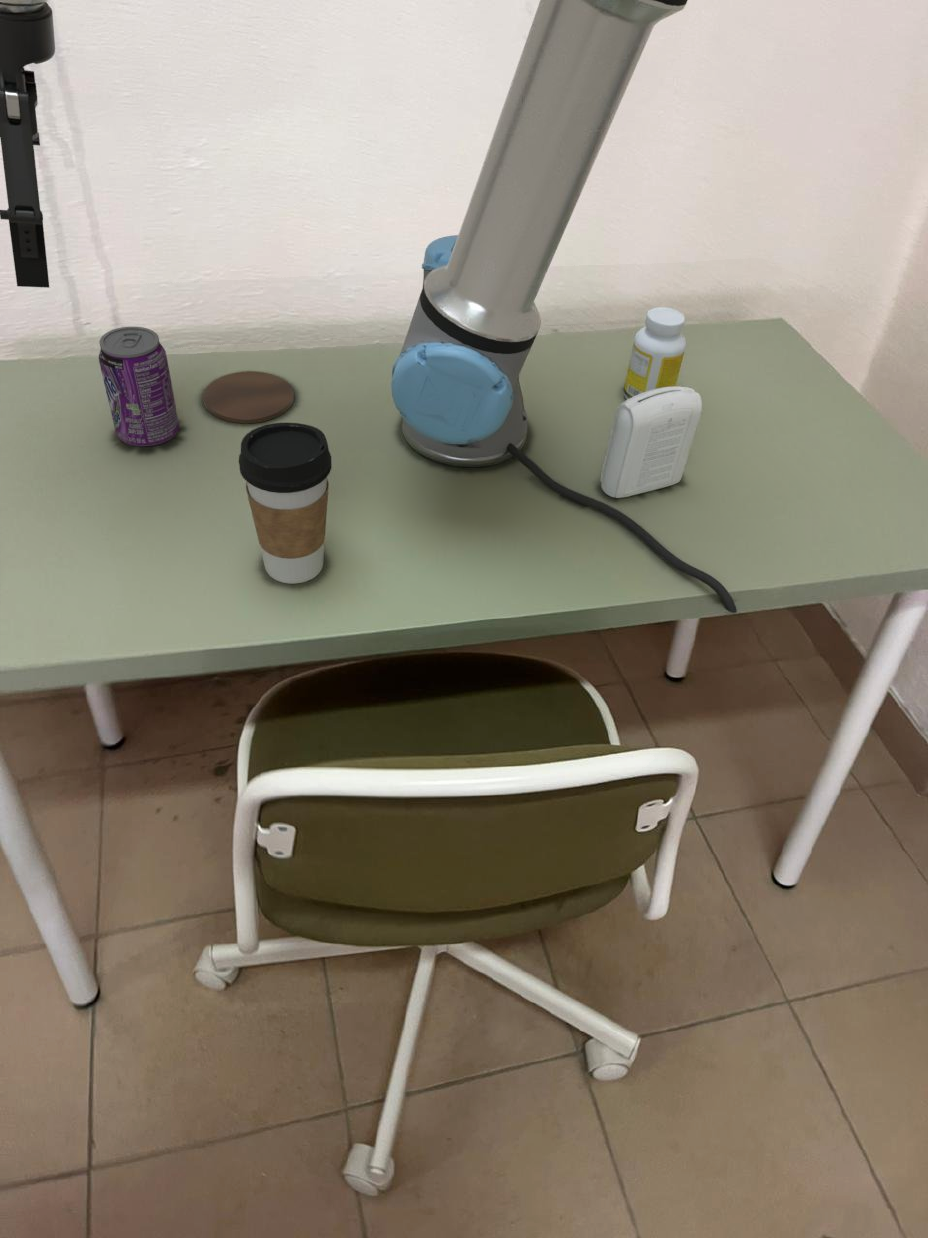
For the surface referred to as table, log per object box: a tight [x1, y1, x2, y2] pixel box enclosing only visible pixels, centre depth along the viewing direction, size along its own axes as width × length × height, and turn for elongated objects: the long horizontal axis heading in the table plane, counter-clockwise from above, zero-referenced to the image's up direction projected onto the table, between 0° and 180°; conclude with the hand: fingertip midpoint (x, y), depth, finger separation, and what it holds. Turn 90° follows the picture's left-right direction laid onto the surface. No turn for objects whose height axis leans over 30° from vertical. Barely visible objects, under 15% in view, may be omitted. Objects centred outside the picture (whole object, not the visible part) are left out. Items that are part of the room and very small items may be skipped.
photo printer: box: [599, 385, 703, 499], centre depth 102 cm, size 10×4×12 cm, turn 117°
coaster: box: [202, 370, 295, 424], centre depth 113 cm, size 11×11×1 cm
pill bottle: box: [623, 306, 687, 400], centre depth 116 cm, size 6×6×12 cm
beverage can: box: [98, 326, 180, 447], centre depth 103 cm, size 7×7×12 cm
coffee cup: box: [238, 422, 333, 585], centre depth 88 cm, size 8×8×15 cm
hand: (29, 248), depth 88 cm, fingers open, 13 cm apart
